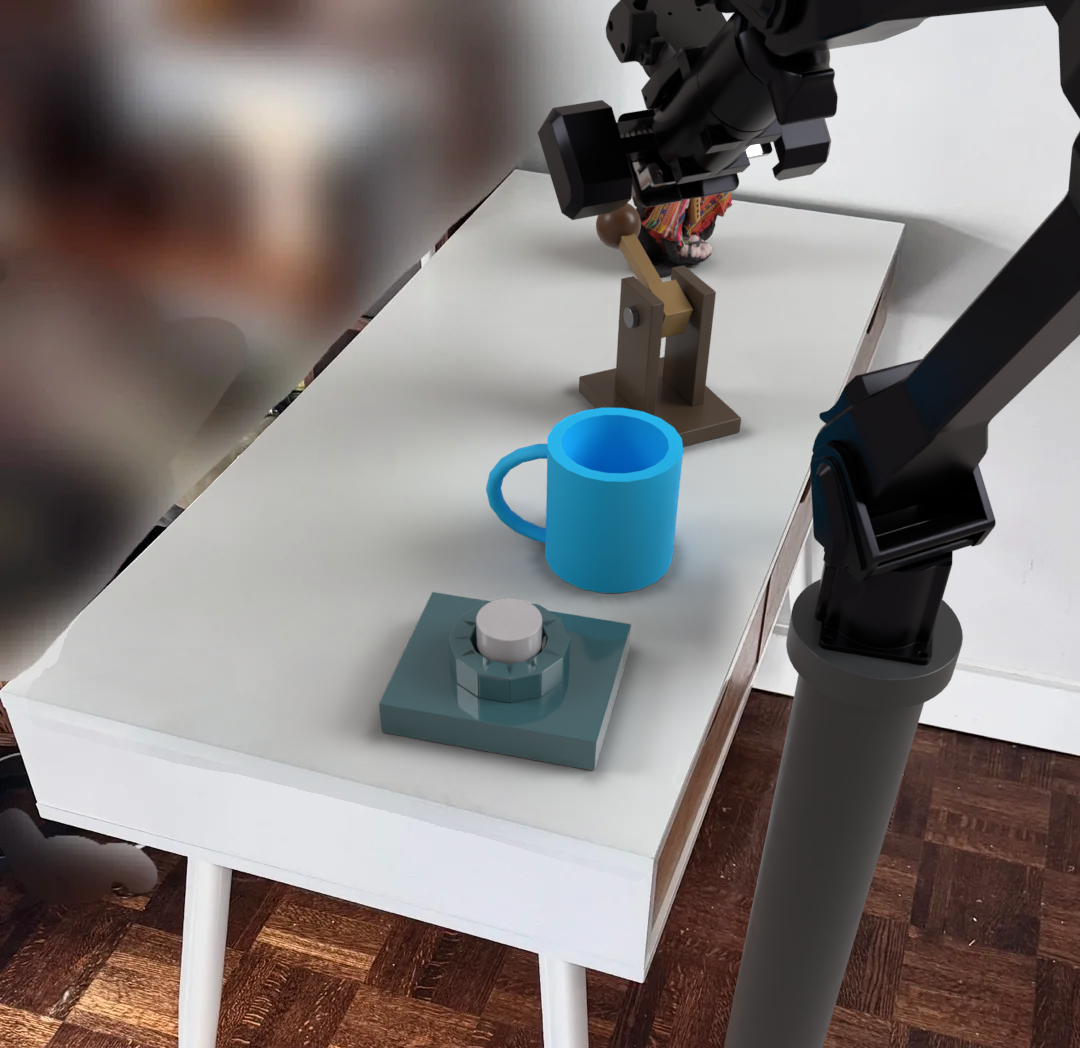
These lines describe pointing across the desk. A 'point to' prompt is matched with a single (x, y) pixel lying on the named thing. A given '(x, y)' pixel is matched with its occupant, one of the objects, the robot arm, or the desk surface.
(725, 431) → the lever bracket
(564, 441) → the mug
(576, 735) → the block
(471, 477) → the desk surface
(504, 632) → the flush button
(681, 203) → the figurine
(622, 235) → the flush lever
